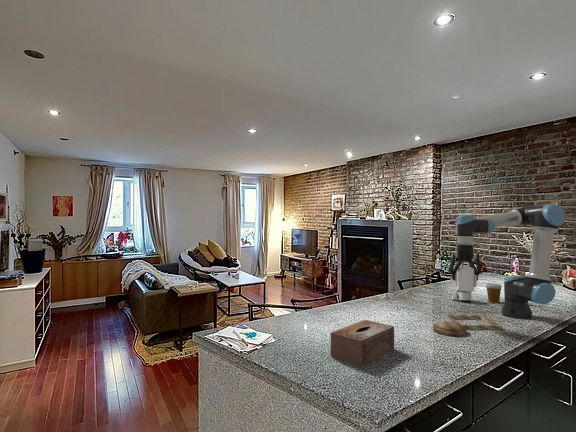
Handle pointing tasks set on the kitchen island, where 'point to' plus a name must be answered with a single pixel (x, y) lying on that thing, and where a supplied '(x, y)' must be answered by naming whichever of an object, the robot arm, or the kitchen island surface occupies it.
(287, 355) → the kitchen island surface
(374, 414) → the kitchen island surface
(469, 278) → the mug
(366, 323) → the tissue box cover
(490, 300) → the disposable coffee cup
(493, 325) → the square wooden frame
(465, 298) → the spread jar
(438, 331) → the brown wooden saucer
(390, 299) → the kitchen island surface
